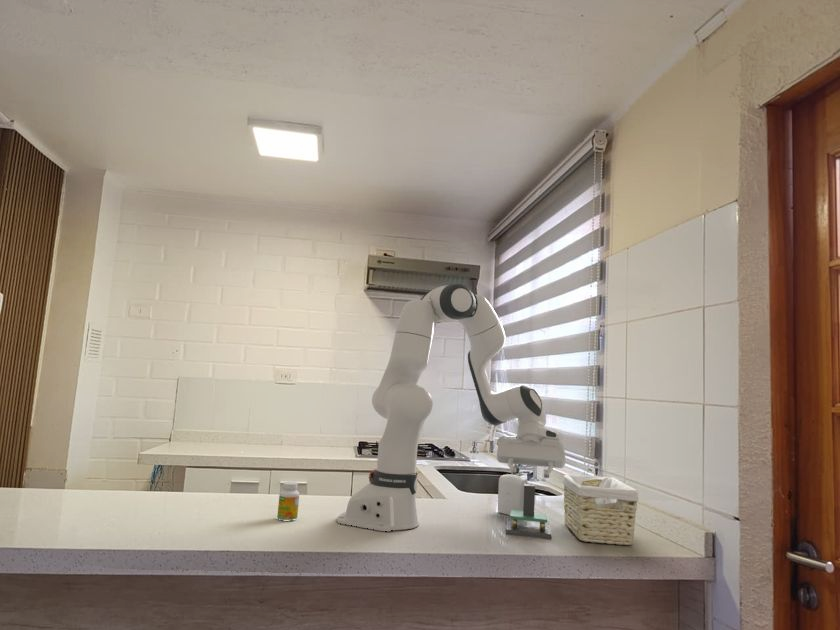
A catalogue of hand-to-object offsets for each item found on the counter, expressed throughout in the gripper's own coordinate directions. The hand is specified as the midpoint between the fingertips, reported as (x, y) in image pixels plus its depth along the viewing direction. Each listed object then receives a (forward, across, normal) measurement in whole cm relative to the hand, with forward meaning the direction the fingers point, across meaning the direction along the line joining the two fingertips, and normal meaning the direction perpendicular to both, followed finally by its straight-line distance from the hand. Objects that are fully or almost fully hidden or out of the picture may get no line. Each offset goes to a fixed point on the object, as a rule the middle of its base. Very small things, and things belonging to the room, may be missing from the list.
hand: (530, 475), depth 157 cm
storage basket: (+10, +19, +11) cm, 24 cm away
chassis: (+13, 0, +8) cm, 15 cm away
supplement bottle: (+26, -65, -4) cm, 70 cm away
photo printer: (+1, -5, +20) cm, 21 cm away
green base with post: (+11, 0, +5) cm, 12 cm away
